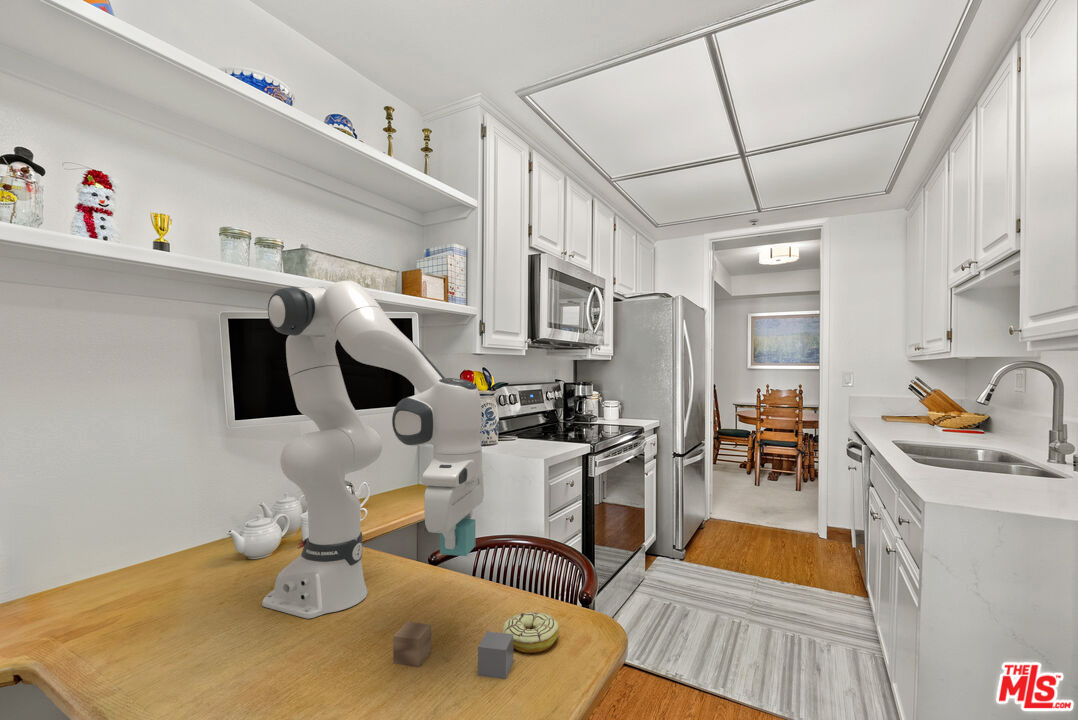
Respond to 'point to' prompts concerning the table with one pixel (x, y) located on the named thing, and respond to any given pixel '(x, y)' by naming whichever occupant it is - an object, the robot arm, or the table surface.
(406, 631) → the walnut cube
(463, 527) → the teal cube
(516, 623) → the decorated donut
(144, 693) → the table surface
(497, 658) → the charcoal cube
